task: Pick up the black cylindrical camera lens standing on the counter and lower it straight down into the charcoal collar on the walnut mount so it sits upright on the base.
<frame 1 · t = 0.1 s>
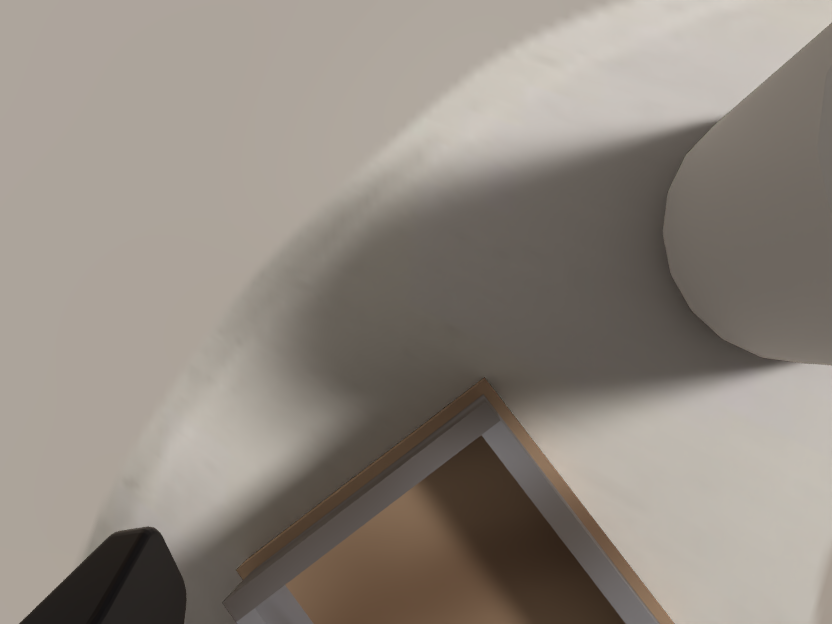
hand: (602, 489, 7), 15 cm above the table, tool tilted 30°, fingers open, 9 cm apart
mount: (456, 592, 22), on the table
can: (782, 234, 22), on the table
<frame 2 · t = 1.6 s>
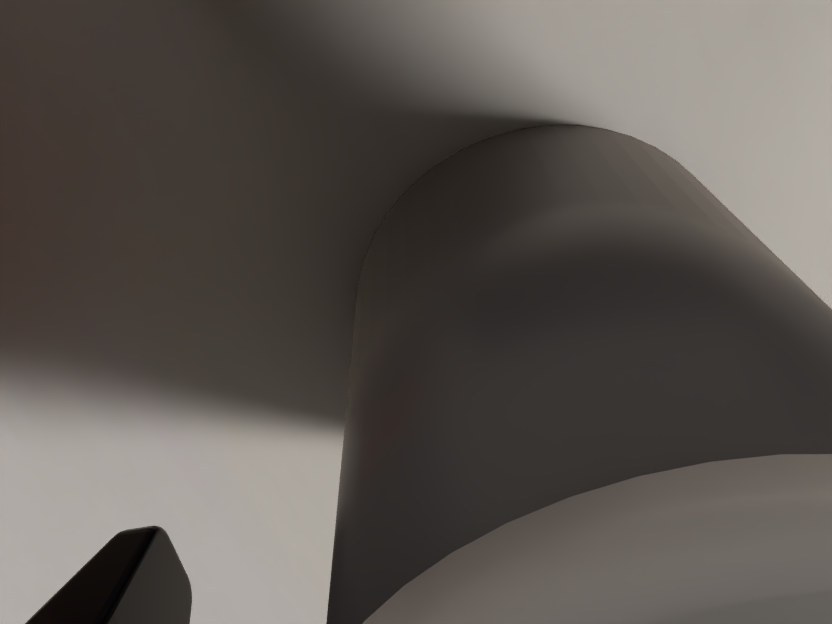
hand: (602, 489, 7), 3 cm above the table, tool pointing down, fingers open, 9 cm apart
lens: (544, 311, 10), on the table
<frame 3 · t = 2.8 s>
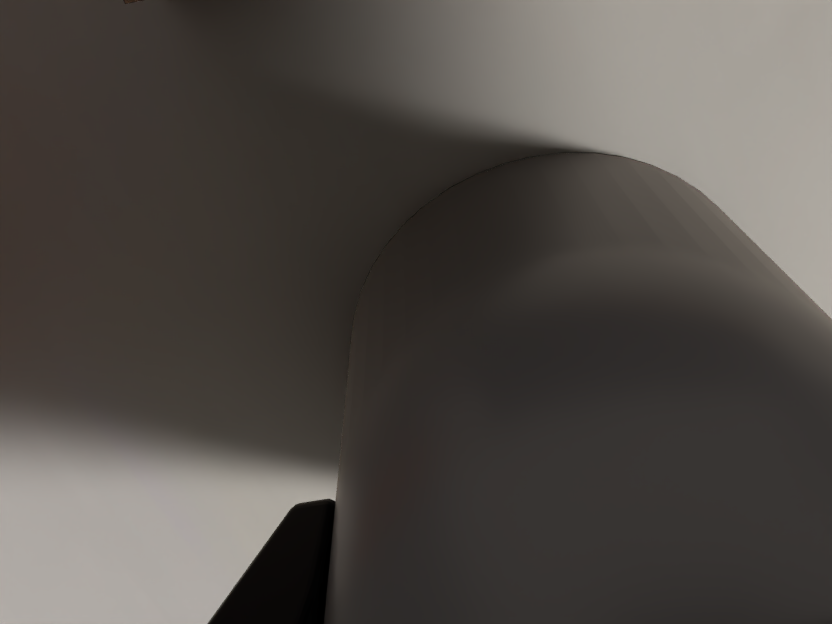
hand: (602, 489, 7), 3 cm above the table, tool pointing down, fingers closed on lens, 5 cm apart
lens: (554, 350, 10), on the table, touching gripper
when the fingers open (4 cm above the table, at t = 8.2 s): lens stays where it is, resting on mount.
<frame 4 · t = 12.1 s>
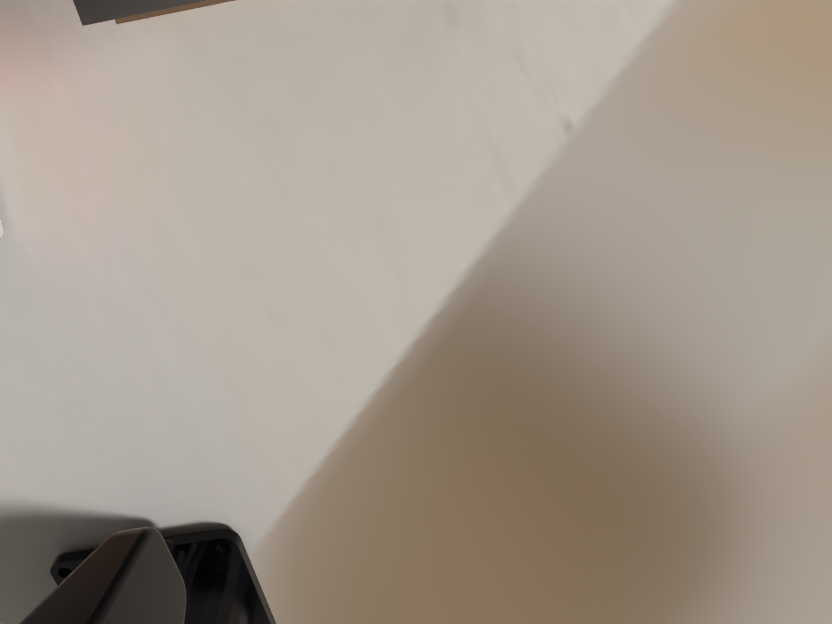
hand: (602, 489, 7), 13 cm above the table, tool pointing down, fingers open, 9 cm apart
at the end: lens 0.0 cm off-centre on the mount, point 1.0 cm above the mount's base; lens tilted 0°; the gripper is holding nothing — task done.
